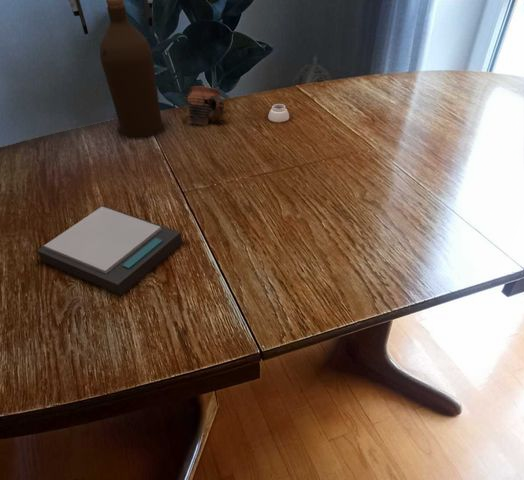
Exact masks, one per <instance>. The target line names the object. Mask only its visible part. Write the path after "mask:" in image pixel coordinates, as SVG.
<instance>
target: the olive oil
mask: <svg viewBox="0 0 524 480" xmlns="http://www.w3.org/2000/svg"><path fill="white" fill-rule="evenodd" d="M105 2H106V4H107V7H106V9H107V12H108V13H107V14H108V17H109V25H108V26H107V28H106V30H105V32H104V34H103V36H102V38H101V41H100V44H99V60H100V63H101V66H102V69H103V73H104V76H105V79H106V83H107V87H108V90H109V93H110V96H111V100H112V103H113V106H114V110H115V113H116V117H117V120H118V124H119V128H120V131H121V134H122V135H123V136H125V137H127V138H131V139H143V138H149V137H153V136H155V135H157V134H159V133H160V132H161V131H163V122H162V116H161V108H160V102H159V94H158V86H157V79H156V71H155V64H154V57H153V52H152V51H153V50H152V48H151V46H150V44H149V42H148V40H147V38H146V37H145V36H144V35H143V34H142V33H141V32H140V31H139V30H138V29H137V28H136V27H135V26H134V25H133V24H132V23H131V22H130V21H129V20H128V16H127V11H126V10H127V9H126V6H125V5H124V0H105Z"/></svg>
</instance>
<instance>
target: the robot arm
mask: <svg viewBox="0 0 524 480" xmlns="http://www.w3.org/2000/svg"><path fill="white" fill-rule="evenodd" d="M68 2H69V4H70V8H71V11H72V15H73V16H74V17H79V20H80V23H81V26H82V29H83V34H84V35H88V34H89V30H88V26H87V23H86V18H85V15H84V12H83V8H82V5H81V1H80V0H68ZM141 2H142V6H143V9H144V13H145V17H146V20H147V24H148V27H153V15H152V11H151V9H153V6H154V0H141Z"/></svg>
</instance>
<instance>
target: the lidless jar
mask: <svg viewBox="0 0 524 480" xmlns="http://www.w3.org/2000/svg"><path fill="white" fill-rule="evenodd" d="M267 119H268V120H269V121H271V122H274V123H283V122H286V121H288V120H290V113H289V111H288V109H287V107H286V105H285V104H283V103H274V104H273V105H272V106H271V109H269V113H268V115H267Z"/></svg>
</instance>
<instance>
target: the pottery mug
mask: <svg viewBox="0 0 524 480" xmlns="http://www.w3.org/2000/svg"><path fill="white" fill-rule="evenodd" d="M187 90H188V93H187V94H186V96H185V98H184V101H185V102H186V101H187V104H188V109H189V112H188V113H185V115H184V116H185V121H186V123H187V124H188V125H195V126H202V127H203V126H208V125H209V119H210V120H211V122H216V121H218V120H219V117H221V115H222V114H223V111H224V107H225V104H224V100H223V99H222V97H221V91H220V90H218V89H217V88H214V87H209V86H203V85H194V86H189V87H188V89H187Z"/></svg>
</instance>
